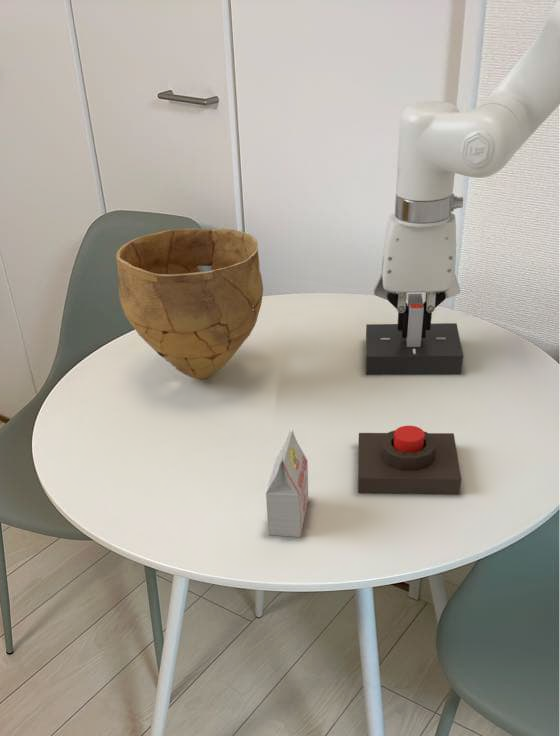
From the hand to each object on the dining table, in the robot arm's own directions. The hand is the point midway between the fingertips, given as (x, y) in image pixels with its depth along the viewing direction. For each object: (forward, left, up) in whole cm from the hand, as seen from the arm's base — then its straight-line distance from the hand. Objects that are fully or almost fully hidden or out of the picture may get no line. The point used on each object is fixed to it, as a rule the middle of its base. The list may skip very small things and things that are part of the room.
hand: (413, 333), depth 114 cm
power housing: (+2, +30, -4) cm, 30 cm away
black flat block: (0, 0, -4) cm, 4 cm away
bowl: (+32, +6, -4) cm, 33 cm away
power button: (+2, +30, 0) cm, 30 cm away
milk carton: (+16, +40, -4) cm, 43 cm away
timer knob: (0, 0, -1) cm, 1 cm away
